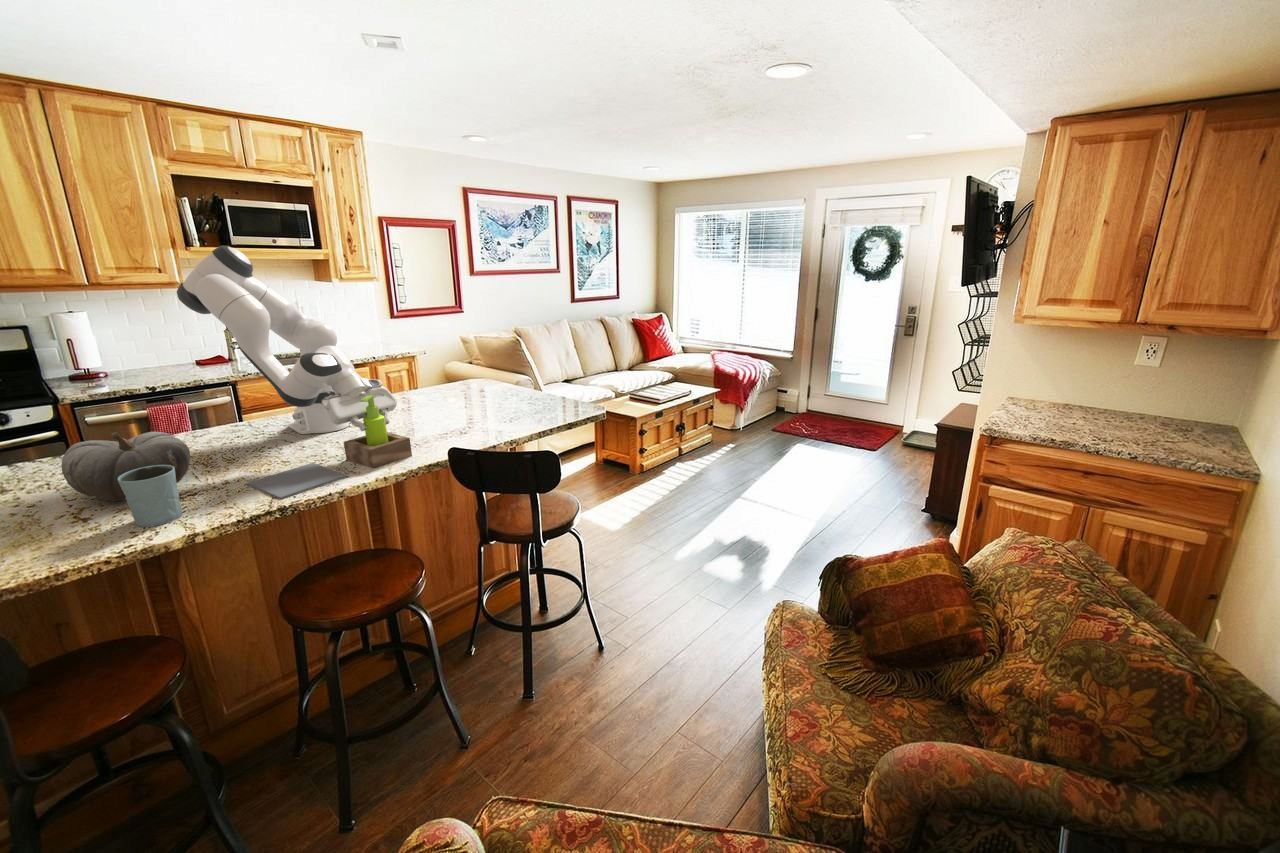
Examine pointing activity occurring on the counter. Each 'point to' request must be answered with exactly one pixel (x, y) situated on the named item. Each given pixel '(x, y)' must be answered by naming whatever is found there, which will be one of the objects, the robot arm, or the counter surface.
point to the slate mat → (296, 480)
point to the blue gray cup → (152, 494)
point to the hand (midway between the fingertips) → (376, 426)
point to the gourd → (120, 462)
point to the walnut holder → (378, 451)
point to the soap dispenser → (374, 423)
